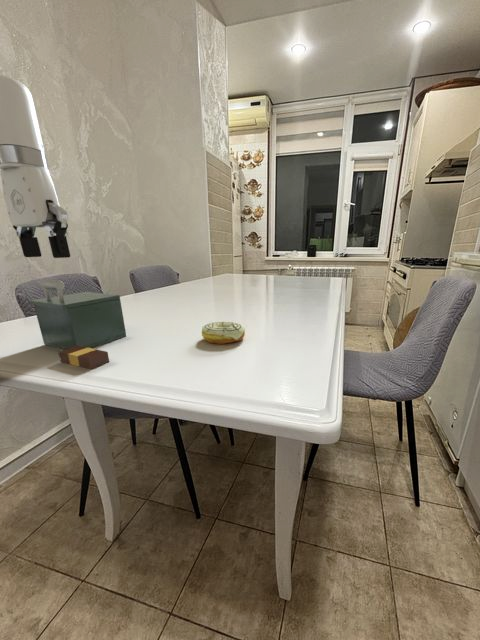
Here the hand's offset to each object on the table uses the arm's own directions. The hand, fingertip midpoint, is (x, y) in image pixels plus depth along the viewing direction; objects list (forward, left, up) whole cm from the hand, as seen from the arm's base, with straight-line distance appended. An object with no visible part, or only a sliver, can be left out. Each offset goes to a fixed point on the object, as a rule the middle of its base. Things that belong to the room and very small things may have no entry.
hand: (47, 257), depth 61 cm
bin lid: (0, +4, -10) cm, 11 cm away
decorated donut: (+30, +20, -20) cm, 41 cm away
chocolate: (+12, -5, -20) cm, 24 cm away
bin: (0, +5, -20) cm, 20 cm away
